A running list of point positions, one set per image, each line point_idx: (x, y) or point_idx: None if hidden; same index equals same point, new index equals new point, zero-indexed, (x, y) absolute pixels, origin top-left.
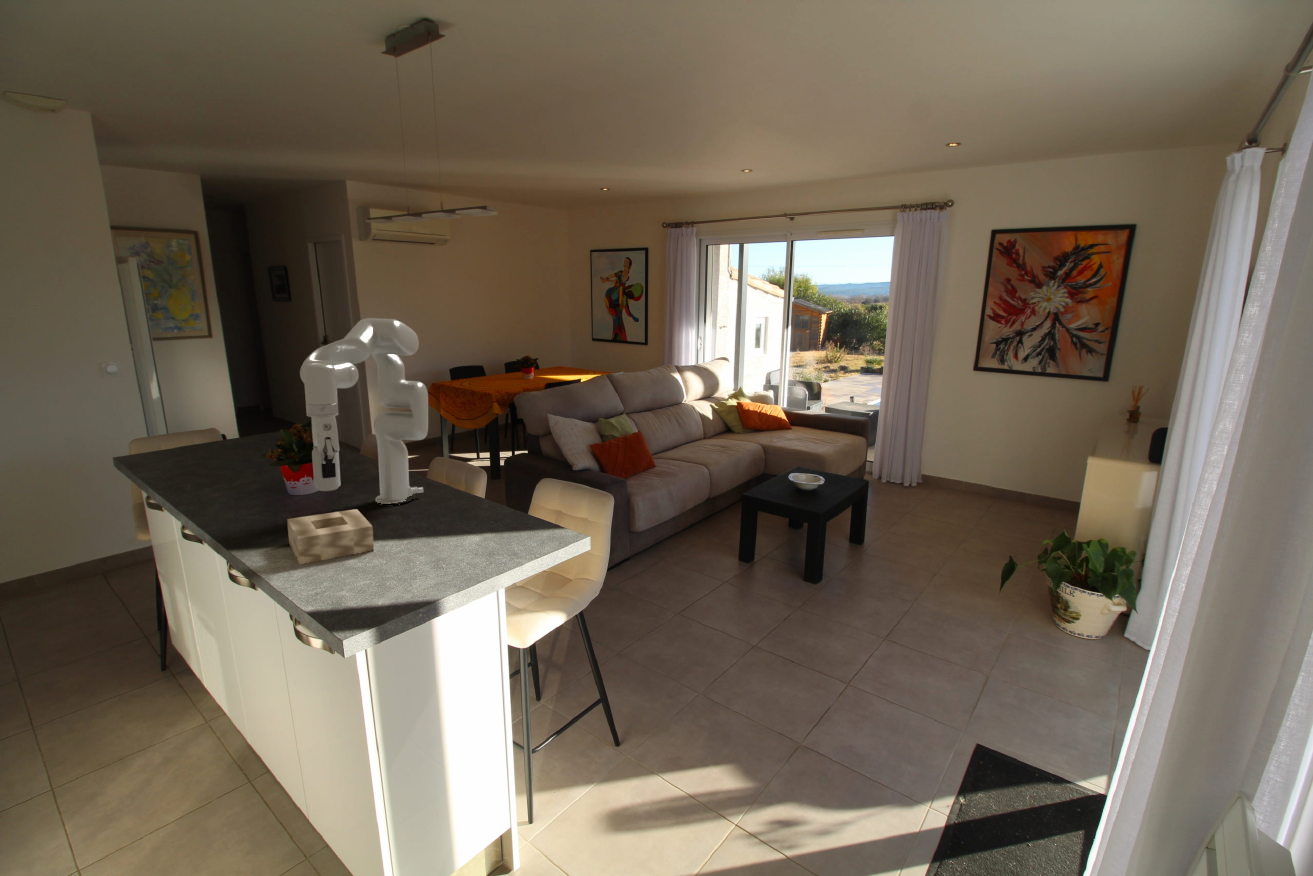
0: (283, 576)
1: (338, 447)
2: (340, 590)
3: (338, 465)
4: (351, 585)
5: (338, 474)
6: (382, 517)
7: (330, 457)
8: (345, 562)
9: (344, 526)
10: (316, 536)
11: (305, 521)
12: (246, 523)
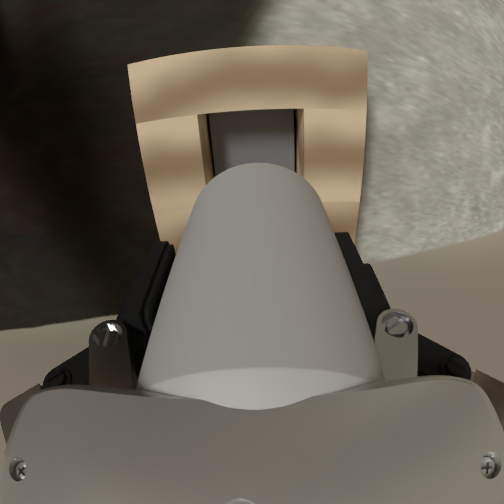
0: (377, 242)
1: (496, 417)
2: (487, 177)
3: (319, 247)
4: (484, 157)
5: (312, 210)
6: (61, 11)
7: (470, 379)
8: (381, 129)
9: (322, 124)
10: (357, 207)
11: None
12: (44, 278)
